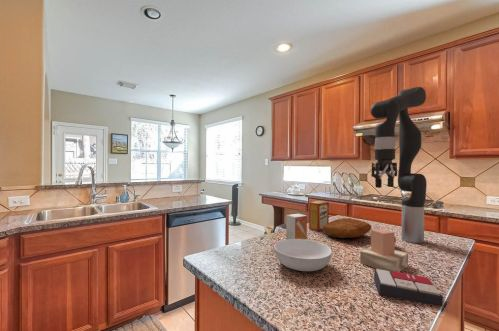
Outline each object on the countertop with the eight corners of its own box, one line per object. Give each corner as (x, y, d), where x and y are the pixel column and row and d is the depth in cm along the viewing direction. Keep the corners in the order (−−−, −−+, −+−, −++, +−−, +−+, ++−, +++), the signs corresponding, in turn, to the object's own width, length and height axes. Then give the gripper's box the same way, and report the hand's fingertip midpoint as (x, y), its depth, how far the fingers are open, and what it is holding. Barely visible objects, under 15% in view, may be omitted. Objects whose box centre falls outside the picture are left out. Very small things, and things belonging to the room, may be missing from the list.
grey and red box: (444, 294, 63) (379, 281, 68) (442, 310, 63) (378, 296, 68) (429, 276, 73) (374, 266, 79) (428, 290, 73) (373, 279, 79)
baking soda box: (318, 231, 134) (318, 203, 134) (309, 229, 139) (309, 201, 139) (328, 228, 140) (328, 201, 140) (319, 226, 145) (319, 200, 145)
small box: (295, 245, 111) (295, 217, 111) (285, 241, 116) (285, 214, 116) (307, 242, 115) (307, 215, 115) (297, 238, 121) (297, 213, 121)
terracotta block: (381, 248, 93) (381, 228, 93) (394, 253, 88) (394, 232, 88) (370, 250, 92) (370, 229, 92) (383, 255, 86) (383, 233, 86)
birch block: (374, 256, 99) (374, 244, 98) (407, 266, 89) (408, 253, 89) (360, 264, 91) (360, 251, 91) (394, 275, 82) (394, 261, 82)
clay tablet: (346, 229, 138) (346, 215, 138) (374, 237, 124) (375, 222, 124) (319, 235, 126) (319, 220, 126) (348, 245, 112) (348, 227, 112)
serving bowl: (298, 284, 75) (298, 262, 75) (263, 260, 93) (263, 243, 93) (344, 271, 84) (344, 251, 84) (305, 251, 103) (305, 235, 103)
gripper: (386, 149, 107) (385, 185, 107) (365, 148, 100) (365, 187, 100) (403, 148, 101) (403, 187, 101) (383, 147, 94) (383, 188, 94)
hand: (384, 187), depth 100 cm, fingers open, 8 cm apart
